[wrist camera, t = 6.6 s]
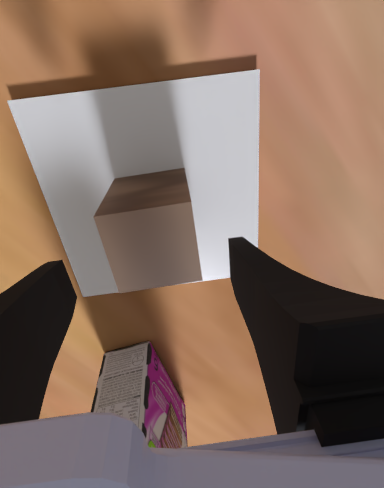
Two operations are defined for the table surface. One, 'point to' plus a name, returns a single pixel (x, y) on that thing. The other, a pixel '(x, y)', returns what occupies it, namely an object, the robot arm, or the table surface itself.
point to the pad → (147, 160)
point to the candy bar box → (142, 395)
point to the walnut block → (149, 231)
